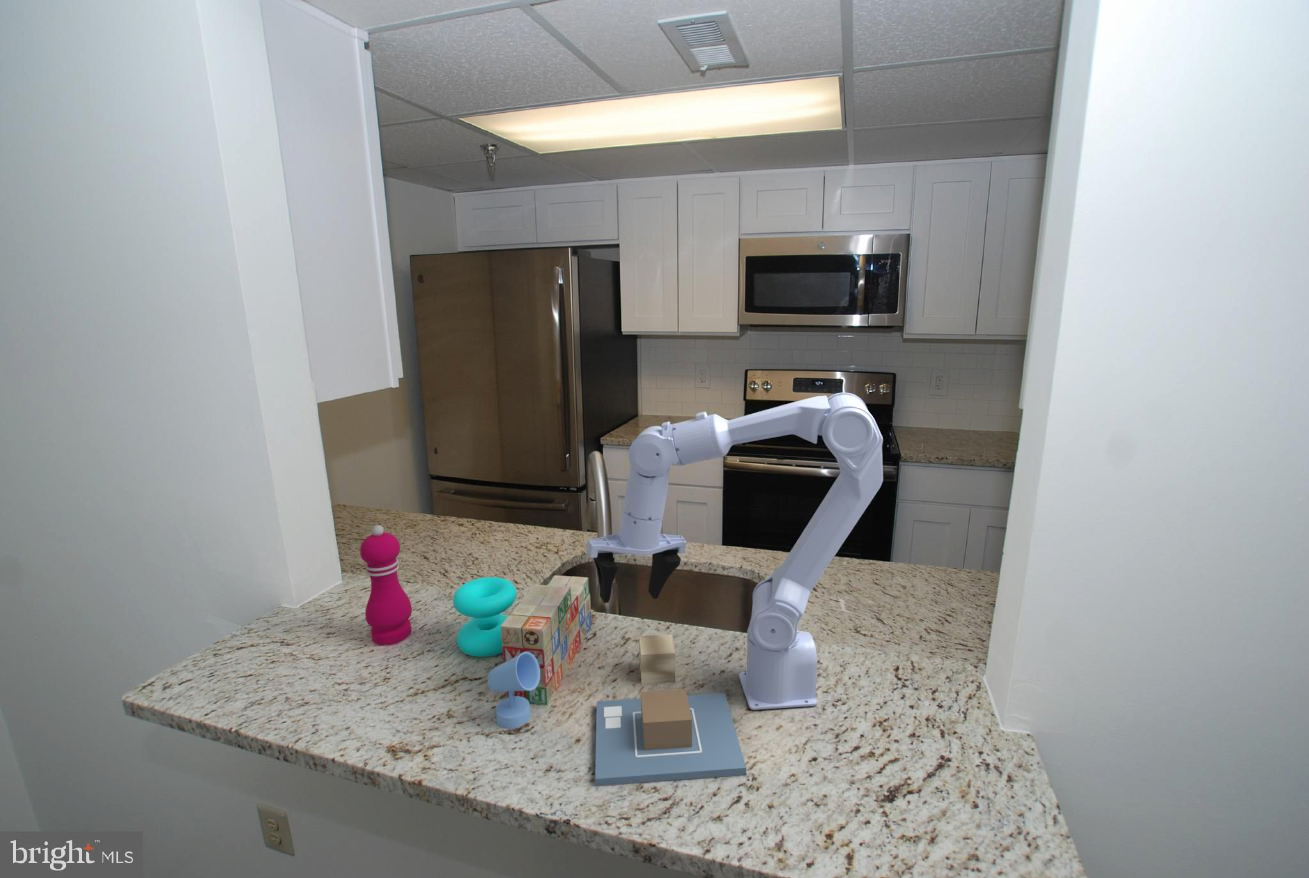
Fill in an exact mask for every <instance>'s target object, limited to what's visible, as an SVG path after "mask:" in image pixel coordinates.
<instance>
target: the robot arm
mask: <svg viewBox="0 0 1309 878" xmlns="http://www.w3.org/2000/svg"><path fill="white" fill-rule="evenodd" d="M868 409H869V408H868V407H867V405H866V403H865V402H864V400H862V398H861V397H859V396H857V395H856V394H854V393H850V392H838V393H834V394H832V395H830V396H829V397H828V396H827V395H817V396H813V397H809V398H805V399H801V400H800V399H799V400H798V401H793V402H790V403H787V404H782V405H779V406H775V407H772V408H771V407H770V408H769V409H764V410H761V411H758V412H754V413H751V414H747V415H743V416H740V417H736V418H733V419H726V418H724V417H722V416H720V415H718V414H716V413H713V414H710V415H708V414H707V412H706V411H701V412H697V414H696V415H695V418H693V419H688V420H684V421H680V422H677V423H672V424H671V422H670V421H666V422H663V423H662V424H661V425H654V426H649V427H647V428H645V429H644V430H643V431H641V433H639V434H638V436H637V437H636V438H635V439H634V440H632V443H631V445H630V446H629V450H628V461H629V463H630V468H629V476H628V478H627V480H626V481H627V482H626V487H625V488H626V490H625V494H624V502H623V507H622V514H621V521H620V527H619V532H617V533H614V534H610V535H606V536H601V537H598V538H597V537H596V538H587V544H586V553H587V555H588V556H589V558H590V559H593V563H594V565H595V568H596V572H597V577H598V583H599V597H600V598H601V601H602V602H603V604H609V603H610V600H611V595H612V589H613V588H612V587H613V582H614V579H615V576H616V574H617V571H618V569H619V567H618V565H617V564H616V562H615V557H614V555H635V556H652V560H651V571H650V577H649V581H648V582H649V583H648V594H650V596H651V597H652V599H653V600H656V599H658V598H659V595H660V593H661V592H662V589H663V588H664V586H665V584H666V582H667V580H669V578H670V576H671V575H672V574H673V573H674V571H675V570H676V569H678V567H679V566H680V564H681V560H682V558H681V557H680V556H679V554H686V550H687V549H686V547H687V543H688V542H687V540H686V539H685V538H684V537H683V536H682V535H681V534H680V535H679V534H678V535H676V534H675V535H674V534H664V533H661V530H662V526H663V520H664V516H665V515H664V514H665V509H666V504H667V503H666V501H667V497H668V492H669V487H670V486H669V483H670V482H669V479H670V474H671V473H670V472H671V468H672V466H677V467H683V466H686V465H691V464H694V463H695V464H696V463H699V462H705V461H708V460H709V461H710V460H713V459H718V458H722V457H725V456H727V454H728V453H729V451H730V449H731V447H732V446H734V445H738V444H743V443H744V444H745V443H749V442H754V441H755V442H756V441H760V440H765V439H766V440H767V439H771V438H777V437H783V436H788V435H795V436H797V437H799V438H802V439H803V440H806V441H808V442H811V443H812V444H815V445H816V444H817V443H818V436H822V440H823V442H824V444H825V446H826V447H827V449H828V450H829V451H830V453H832V455H833V456H834V457H835V458H836V462H837V465H838V467H839V470H840V473H839V475H838V476H837V478H836V479H835V481H834V482H833V484H832V486H831V487H830V489H829V490H828V492H827V494H826V495H825V497H824V498H823V500H822V502H821V503H820V504H819V506H818V507H817V509H816V510H815V513H814V514H813V516H812V517H811V518H810V520H809V522H808V524H807V525H806V526H805V528H804V529H803V531H802V533H801V535H800V536H799V538H798V539H797V541H796V543H794V545H793V547H792V548H791V550H790V552H789V553H788V554H787V556H786V558H785V559H784V560H783V563H782V564H781V565H780V566H777V567H775V568H774V570H773V571H772V573H771V574H770V575H769V576H768V577H767V578H766V579H765V578H764V579H763V580H761V581H760V582H759V583H757V584H756V586H755V587H754V589H753V592H752V597H751V598H752V608H751V609H752V610H751V617H750V621H749V625H748V627H747V629H746V630H747V631H746V635H747V636H746V671H743V672H742V671H741V672H739V673H738V678H739V681H740V684H741V687H742V690H743V693H744V696H745V698H746V701H747V705H748V708H749V709H750V710H753V711H757V710H758V711H759V710H771V709H773V710H774V709H785V708H786V709H788V708H801V707H814V706H817V704H818V701H817V698H816V694H817V693H816V691H817V673H818V655H817V648H816V643H815V641H814V637H813V636H812V634H811V633H810V632H809V631H806V630H805V631H804V630H803V631H801V630H799V629H798V626H799V622H800V620H801V619H802V617H803V616H804V613H805V611H806V609H807V605H808V601H809V598H810V595H811V592H812V590H813V589H814V587H815V585H816V584H817V583H818V581H819V580H820V578H821V577H822V575H823V573H824V572H825V571H826V569H827V568H828V566H829V565H830V563H831V562H832V560H833V559H834V557H835V556H836V554H837V553H838V551H839V550H840V549H841V548H842V545H843V544H844V542H845V541H846V539H847V538H848V536H849V535H850V534H851V532H852V531H853V529H854V527H855V526H856V525H857V523H858V521H859V520H860V518H861V517H862V515H863V514H864V513H865V511H866V509H867V508H868V506H869V505H870V504H871V502H872V500H873V499H874V497H875V496H876V494H877V492H879V490H880V488H881V486H882V484H883V482H884V475H883V474H884V471H883V470H884V469H883V466H884V465H883V444H884V443H883V442H884V438H883V435H882V434H881V431H880V429H879V426H878V424H877V422H876V420H875V418H874V417H873V415H872V414H871V413H870V411H869V410H868Z"/></svg>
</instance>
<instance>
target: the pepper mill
mask: <svg viewBox="0 0 1309 878" xmlns="http://www.w3.org/2000/svg"><path fill="white" fill-rule="evenodd" d="M384 531H385V529H384V527H383V526H382V525H379V524H376V525H374V526H373V527H372V528H371V533H372V534H370V535H368V536H367V537H365V539H363V541H362V542H361V544H360V549H359V554H360V558H361V559H362V560H363V561H364V563H365V564H366V565H365V569H366V572H365V573H366V574H367V575H368V576H369V577H370V585H371V586H370V587H371V588H370V594H369V597H368V600H367V603H366V607H365V613H364V615H365V621H366V623H367V625H368V626H370V627H371V630H370V633H371V634H370V635H371V641H372V642H373V643H374V644H375V645H378V646H390V645H396V644H399V643H401V642H403V641H404V640H406V639H407V638H409V637H410V635H411V634H412V625H411V624H412V623H411V622H412V621H411V620H410V618H411V615H412V612H413V607H412V602H411V599H410V598H409V597H408V594H407V593H406V592H405V590H404V589H403V587H402V586H401V583H400V581H399V577H398V570H399V568H400V564H399V559H398V556H399V554H400V552H401V545H400V541H399V540H398V538H397V537H396V536H395V535H394V534H393V533H390V532H384Z"/></svg>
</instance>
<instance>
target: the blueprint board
mask: <svg viewBox="0 0 1309 878" xmlns="http://www.w3.org/2000/svg"><path fill="white" fill-rule="evenodd" d="M687 693H688V692H687V688H679V689H678V688H677V689H676V688H675V689H665V690H664V689H663V690H647V691H640V698H638V697H637V698H625V699H611V700H610V699H609V700H608V699H607V700H597V701H596V717H595V718H596V721H595V722H596V728H595V730H596V731H595V775H594V776H595V777H594V778H595V779H594V781H595V787H598V786H612V785H627V784H637V783H638V784H641V783H652V782H655V783H656V782H665V781H678V780H679V781H681V780H690V779H691V780H692V779H706V778H718V777H719V778H720V777H731V776H746V775H747V765H746V763H745V759H744V755H743V751H742V748H741V744H740V741H739V738H738V735H737V731H736V728H735V727H736V726H735V724H734V721H733V717H732V714H731V711H730V707H729V703H728V701H727V695H726V693H725V692H717V693H698V694H687Z"/></svg>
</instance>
